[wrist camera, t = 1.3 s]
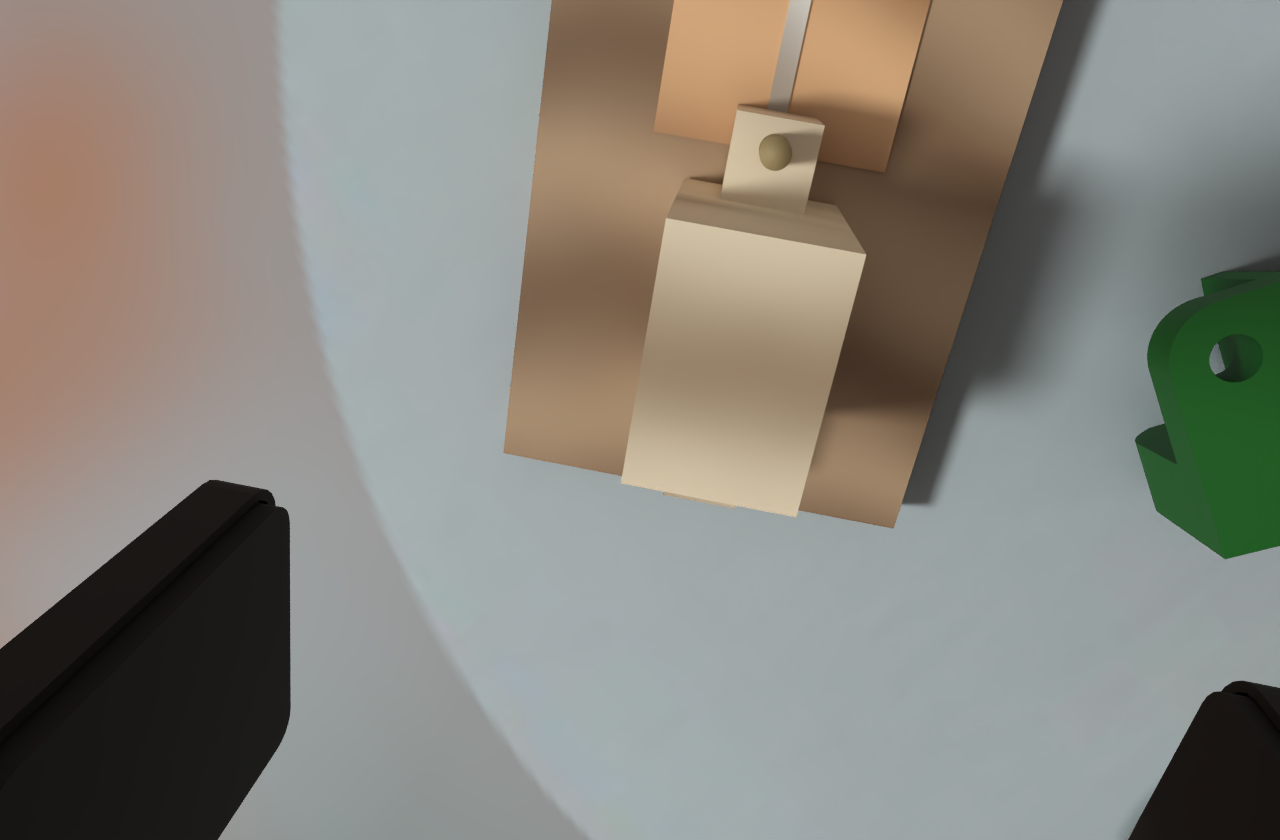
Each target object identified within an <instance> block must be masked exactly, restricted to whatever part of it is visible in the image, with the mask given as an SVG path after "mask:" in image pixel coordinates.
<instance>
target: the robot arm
mask: <svg viewBox="0 0 1280 840" xmlns="http://www.w3.org/2000/svg"><path fill="white" fill-rule="evenodd" d="M289 717H290V522H289V515H288V512H287V510H286V509H284V508H283V507H277V506H275V500H274V497H273V496H272V493H270V492H269V491H268V490H265V489H260V488H255V487H250V486H245V485H239V484H234V483H229V482H224V481H219V480H209V481H208V482H206V483H204V484H202V485H201V486H200V487H199V488H198V489H196V490H195V491H194V492H193V493H191V494H190V495H189V496H188V497H186V498H185V499H184V500H183V501H181V502H180V503H179V504H178V505H177V506H175V507H174V508H173V509H172V510H170V511H169V512H168V513H167V514H165V515H164V516H163V517H162V518H161V519H159V520H158V521H157V522H156V523H155V524H153V525H152V526H151V527H150V528H148V529H147V530H146V531H145V532H143V533H142V534H141V535H140V536H139V537H137V538H136V539H135V540H134V541H132V542H131V543H130V544H129V545H127V546H126V547H125V548H124V549H123V550H121V551H120V552H119V553H118V554H116V555H115V556H114V557H113V558H111V559H110V560H109V561H108V562H107V563H105V564H104V565H103V566H102V567H100V568H99V569H98V570H97V571H95V572H94V573H93V574H92V575H91V576H89V577H88V578H87V579H86V580H84V581H83V582H82V583H81V584H80V585H78V586H77V587H76V588H75V589H73V590H72V591H71V592H70V593H68V594H67V595H66V596H65V597H64V598H62V599H61V600H60V601H59V602H57V603H56V604H55V605H54V606H53V607H51V608H50V609H49V610H48V611H46V612H45V613H44V614H43V615H41V616H40V617H39V618H38V619H37V620H35V621H34V622H33V623H32V624H30V625H29V626H28V627H27V628H25V629H24V630H23V631H22V632H21V633H19V634H18V635H17V636H16V637H14V638H13V639H12V640H11V641H10V642H8V643H7V644H6V645H5V646H3V647H2V648H1V649H0V840H218V838H219V837H220V835H221V833H222V832H223V830H224V829H225V828H226V826H227V824H228V823H229V821H230V820H231V818H232V817H233V815H234V814H235V812H236V811H237V809H238V808H239V806H240V805H241V803H242V802H243V800H244V798H245V797H246V796H247V794H248V792H249V791H250V789H251V788H252V786H253V785H254V783H255V782H256V780H257V779H258V777H259V776H260V774H261V773H262V771H263V770H264V768H265V767H266V765H267V763H268V762H269V761H270V759H271V758H272V756H273V755H274V753H275V752H276V750H277V748H278V746H279V745H280V743H281V741H282V739H283V737H284V734H285V732H286V729H287V725H288V722H289ZM1127 840H1280V688H1277V687H1272V686H1267V685H1262V684H1257V683H1252V682H1247V681H1235V682H1232V683H1230V684H1229V685H1227V686H1226V687H1224V689H1223V690H1222V691H1220V692H1213V693H1211V694H1210V695H1208V696H1207V697H1206V699H1205V700H1204V701H1203V703H1202V705H1201V706H1200V708H1199V710H1198V712H1197V714H1196V716H1195V717H1194V719H1193V721H1192V723H1191V725H1190V727H1189V728H1188V730H1187V732H1186V734H1185V736H1184V738H1183V739H1182V741H1181V743H1180V745H1179V747H1178V749H1177V750H1176V752H1175V754H1174V756H1173V758H1172V760H1171V761H1170V763H1169V765H1168V767H1167V769H1166V771H1165V772H1164V774H1163V776H1162V778H1161V780H1160V782H1159V783H1158V785H1157V787H1156V789H1155V791H1154V793H1153V794H1152V796H1151V798H1150V800H1149V802H1148V804H1147V805H1146V807H1145V809H1144V811H1143V813H1142V815H1141V816H1140V818H1139V820H1138V822H1137V824H1136V825H1135V827H1134V828H1133V829H1132V831H1131V832H1130V834H1129V835H1128V837H1127Z"/></svg>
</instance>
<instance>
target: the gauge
mask: <svg viewBox="0 0 1280 840" xmlns="http://www.w3.org/2000/svg"><path fill="white" fill-rule="evenodd" d="M824 127H825V125H824V124H823V123H822V122H820V121H819V120H818V119H817V118H813V117H807V116H802V115H796V114H790V113H785V112H779V111H773V110H768V109H762V108H756V107H751V106H745V105H739V104H738V106H737V112H736V117H735V122H734V127H733V132H732V137H731V143H730V148H729V153H728V158H727V163H726V168H725V174H724V179H723V184H722V185H721V184H715V183H710V182H704V181H699V180H693V179H688V178H684V180H683V182H682V185H681V187H680V189H679V191H678V193H677V195H676V198H675V200H674V202H673V204H672V206H671V208H670V210H669V213H668V215H667V217H666V221H665V227H664V233H663V238H662V244H661V250H660V256H659V262H658V268H657V274H656V280H655V285H654V291H653V297H652V303H651V309H650V315H649V321H648V327H647V332H646V338H645V344H644V350H643V356H642V362H641V368H640V374H639V379H638V385H637V391H636V397H635V403H634V409H633V415H632V421H631V426H630V432H629V438H628V444H627V450H626V456H625V462H624V468H623V473H622V479H621V483H622V484H627V485H633V486H638V487H643V488H648V489H653V490H658V491H664V492H663V495H668V496H673V497H679V498H684V499H689V500H694V501H699V502H704V503H710V504H715V505H720V506H725V507H730V508H736V506H741V507H746V508H751V509H756V510H761V511H767V512H772V513H777V514H782V515H787V516H792V517H796V516H797V513H798V509H799V505H800V502H801V498H802V494H803V490H804V487H805V483H806V479H807V475H808V472H809V468H810V464H811V460H812V457H813V453H814V449H815V445H816V442H817V438H818V434H819V430H820V427H821V423H822V419H823V416H824V412H825V408H826V404H827V401H828V397H829V393H830V389H831V386H832V382H833V378H834V374H835V371H836V367H837V363H838V359H839V356H840V352H841V348H842V344H843V341H844V337H845V333H846V329H847V326H848V322H849V318H850V315H851V311H852V307H853V303H854V300H855V296H856V292H857V288H858V285H859V281H860V277H861V273H862V270H863V266H864V262H865V258H866V253H865V251H864V250H863V248H862V246H861V245H860V243H859V241H858V240H857V238H856V237H855V235H854V233H853V232H852V230H851V228H850V227H849V225H848V223H847V222H846V220H845V219H844V217H843V215H842V214H841V212H840V210H839V209H838V207H837V205H832V204H826V203H821V202H815V201H810V200H808V196H809V192H810V187H811V183H812V179H813V174H814V170H815V166H816V162H817V157H818V153H819V149H820V145H821V140H822V136H823V132H824Z"/></svg>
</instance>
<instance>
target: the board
mask: <svg viewBox="0 0 1280 840" xmlns="http://www.w3.org/2000/svg"><path fill="white" fill-rule="evenodd" d="M1062 3H1063V0H552V4H551V14H550V23H549V33H548V42H547V51H546V61H545V70H544V79H543V89H542V98H541V107H540V117H539V126H538V136H537V145H536V154H535V164H534V173H533V182H532V192H531V201H530V210H529V220H528V229H527V238H526V248H525V257H524V267H523V276H522V285H521V295H520V304H519V313H518V323H517V332H516V341H515V351H514V360H513V370H512V379H511V388H510V398H509V407H508V416H507V426H506V435H505V444H504V453H506V454H511V455H517V456H522V457H527V458H532V459H537V460H542V461H548V462H553V463H558V464H563V465H568V466H573V467H579V468H584V469H589V470H594V471H599V472H604V473H610V474H615V475H620V476H622V473H623V468H624V462H625V456H626V450H627V444H628V438H629V432H630V426H631V421H632V415H633V409H634V403H635V397H636V391H637V385H638V379H639V374H640V368H641V362H642V356H643V350H644V344H645V338H646V332H647V327H648V321H649V315H650V309H651V303H652V297H653V291H654V285H655V280H656V274H657V268H658V262H659V256H660V250H661V244H662V238H663V233H664V227H665V221H666V217H667V215H668V213H669V210H670V208H671V206H672V204H673V202H674V200H675V198H676V195H677V193H678V191H679V189H680V187H681V185H682V182H683V180H684V178H688V179H693V180H699V181H704V182H710V183H715V184H721V185H722V184H723V179H724V174H725V168H726V163H727V158H728V153H729V148H730V143H731V137H732V132H733V127H734V122H735V117H736V112H737V106H738V104H739V105H745V106H751V107H756V108H762V109H768V110H773V111H779V112H785V113H790V114H796V115H802V116H807V117H813V118H817V119H818V120H819V121H820V122H822V123H823V124H824V125H825V127H824V132H823V136H822V140H821V145H820V149H819V153H818V157H817V162H816V166H815V170H814V174H813V179H812V183H811V187H810V192H809V196H808V200H810V201H815V202H821V203H826V204H832V205H837V207H838V209H839V210H840V212H841V214H842V215H843V217H844V219H845V220H846V222H847V223H848V225H849V227H850V228H851V230H852V232H853V233H854V235H855V237H856V238H857V240H858V241H859V243H860V245H861V246H862V248H863V250H864V251H865V253H866V258H865V262H864V266H863V270H862V273H861V277H860V281H859V285H858V288H857V292H856V296H855V300H854V303H853V307H852V311H851V315H850V318H849V322H848V326H847V329H846V333H845V337H844V341H843V344H842V348H841V352H840V356H839V359H838V363H837V367H836V371H835V374H834V378H833V382H832V386H831V389H830V393H829V397H828V401H827V404H826V408H825V412H824V416H823V419H822V423H821V427H820V430H819V434H818V438H817V442H816V445H815V449H814V453H813V457H812V460H811V464H810V468H809V472H808V475H807V479H806V483H805V487H804V490H803V494H802V498H801V502H800V505H799V509H798V510H801V511H806V512H811V513H816V514H821V515H826V516H832V517H837V518H842V519H847V520H852V521H857V522H863V523H868V524H873V525H878V526H883V527H888V528H894V525H895V522H896V519H897V516H898V513H899V510H900V507H901V504H902V500H903V497H904V494H905V491H906V488H907V485H908V482H909V479H910V476H911V472H912V469H913V466H914V463H915V460H916V457H917V454H918V451H919V448H920V444H921V441H922V438H923V435H924V432H925V429H926V426H927V423H928V420H929V416H930V413H931V410H932V407H933V404H934V401H935V398H936V395H937V392H938V388H939V385H940V382H941V379H942V376H943V373H944V370H945V367H946V364H947V360H948V357H949V354H950V351H951V348H952V345H953V342H954V339H955V336H956V332H957V329H958V326H959V323H960V320H961V317H962V314H963V311H964V308H965V304H966V301H967V298H968V295H969V292H970V289H971V286H972V283H973V280H974V276H975V273H976V270H977V267H978V264H979V261H980V258H981V255H982V252H983V248H984V245H985V242H986V239H987V236H988V233H989V230H990V227H991V224H992V220H993V217H994V214H995V211H996V208H997V205H998V202H999V199H1000V196H1001V192H1002V189H1003V186H1004V183H1005V180H1006V177H1007V174H1008V171H1009V168H1010V164H1011V161H1012V158H1013V155H1014V152H1015V149H1016V146H1017V143H1018V140H1019V136H1020V133H1021V130H1022V127H1023V124H1024V121H1025V118H1026V115H1027V112H1028V108H1029V105H1030V102H1031V99H1032V96H1033V93H1034V90H1035V87H1036V84H1037V80H1038V77H1039V74H1040V71H1041V68H1042V65H1043V62H1044V59H1045V55H1046V52H1047V49H1048V46H1049V43H1050V40H1051V37H1052V34H1053V31H1054V27H1055V24H1056V21H1057V18H1058V15H1059V12H1060V9H1061V6H1062Z"/></svg>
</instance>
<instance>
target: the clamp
mask: <svg viewBox="0 0 1280 840" xmlns="http://www.w3.org/2000/svg"><path fill="white" fill-rule="evenodd" d="M1201 281H1202V287H1203V292H1204V296H1202V297H1199V298H1196V299H1193V300H1190V301H1187V302H1185V303H1183V304H1181V305H1180V306H1178V307H1176V308H1175V309H1173V310H1172V311H1171V312H1169V313H1168V314H1167V315H1166V316H1165V317H1164V318H1163V319H1162V320H1161V322H1160V323H1159V324H1158V326H1157V327H1156V329H1155V330H1154V332H1153V334H1152V337H1151V339H1150V342H1149V347H1148V353H1147V360H1148V367H1149V371H1150V375H1151V378H1152V381H1153V385H1154V388H1155V392H1156V395H1157V398H1158V402H1159V405H1160V408H1161V412H1162V415H1163V418H1164V422H1165V424H1162V425H1158V426H1155V427H1152V428H1150V429H1148V430H1146V431H1144V432H1142V433H1141V434H1139V435H1138V436H1137V437H1136V439H1135V442H1136V445H1137V448H1138V452H1139V455H1140V458H1141V462H1142V465H1143V468H1144V472H1145V475H1146V478H1147V482H1148V485H1149V488H1150V491H1151V495H1152V498H1153V501H1154V505H1155V508H1156V510H1157V512H1159V513H1160V514H1161V515H1163V516H1164V517H1166V518H1167V519H1169V520H1170V521H1171V522H1173V523H1174V524H1176V525H1177V526H1179V527H1180V528H1181V529H1183V530H1184V531H1186V532H1187V533H1189V534H1190V535H1191V536H1193V537H1194V538H1196V539H1197V540H1199V541H1200V542H1201V543H1203V544H1204V545H1206V546H1207V547H1209V548H1210V549H1211V550H1213V551H1214V552H1216V553H1217V554H1219V555H1220V556H1221V557H1223V558H1224V559H1228V558H1232V557H1236V556H1240V555H1244V554H1248V553H1252V552H1256V551H1260V550H1264V549H1268V548H1272V547H1276V546H1280V271H1265V272H1220V273H1217V274H1214V275H1211V276H1208V277H1205V278H1202V279H1201ZM1217 342H1218V344H1219V348H1220V351H1221V355H1222V358H1223V362H1224V365H1225V368H1226V369H1225V370H1224V371H1223V372H1221V373H1218V374H1216V375H1215V374H1214V373H1213V372H1212V370H1211V368H1210V364H1209V356H1210V353H1211V350H1212V348H1213V347H1214V346H1215V344H1216V343H1217Z"/></svg>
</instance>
